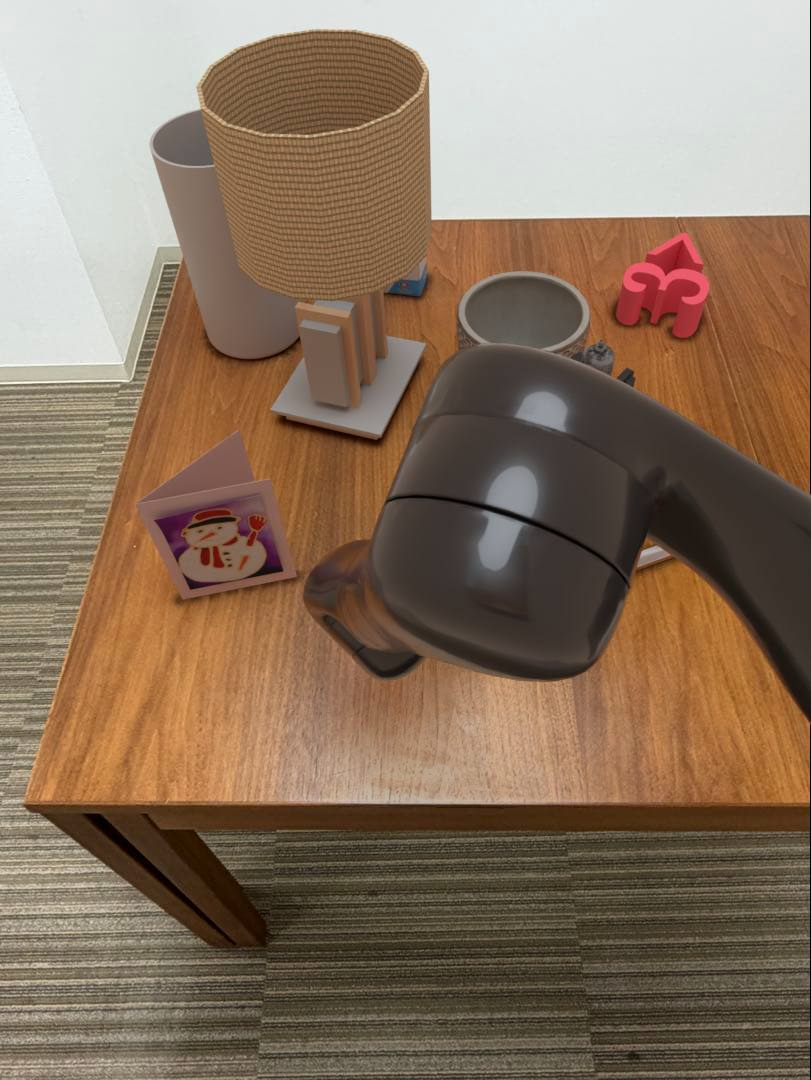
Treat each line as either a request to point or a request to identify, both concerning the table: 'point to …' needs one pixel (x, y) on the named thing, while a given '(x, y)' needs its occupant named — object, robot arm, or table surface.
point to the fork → (652, 557)
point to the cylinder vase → (216, 247)
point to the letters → (666, 286)
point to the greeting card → (218, 524)
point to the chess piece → (599, 357)
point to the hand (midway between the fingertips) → (608, 367)
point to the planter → (524, 313)
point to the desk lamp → (328, 204)
